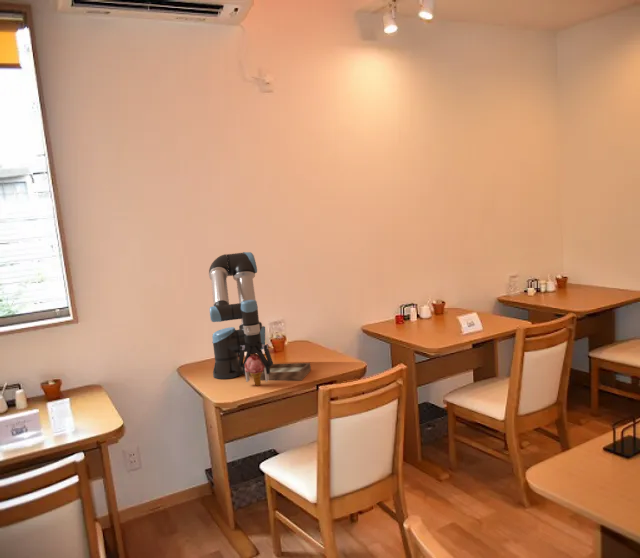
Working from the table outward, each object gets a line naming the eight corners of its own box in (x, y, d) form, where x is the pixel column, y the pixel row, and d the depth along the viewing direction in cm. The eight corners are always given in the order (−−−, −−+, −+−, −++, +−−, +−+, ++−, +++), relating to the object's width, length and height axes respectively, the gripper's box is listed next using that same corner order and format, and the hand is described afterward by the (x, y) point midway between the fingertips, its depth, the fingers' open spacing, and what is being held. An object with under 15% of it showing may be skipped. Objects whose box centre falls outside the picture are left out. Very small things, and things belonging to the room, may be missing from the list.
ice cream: (250, 390, 255) (245, 358, 254) (245, 386, 264) (240, 355, 263) (273, 385, 259) (268, 353, 258) (267, 381, 268) (263, 350, 267)
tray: (258, 381, 270) (257, 373, 270) (269, 371, 285) (268, 364, 285) (301, 380, 264) (300, 372, 264) (310, 370, 280) (310, 362, 279)
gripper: (227, 336, 259) (232, 383, 261) (271, 334, 253) (276, 382, 255) (234, 332, 266) (239, 378, 268) (276, 330, 260) (282, 377, 262)
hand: (257, 380), depth 262 cm, fingers closed on ice cream, 9 cm apart
